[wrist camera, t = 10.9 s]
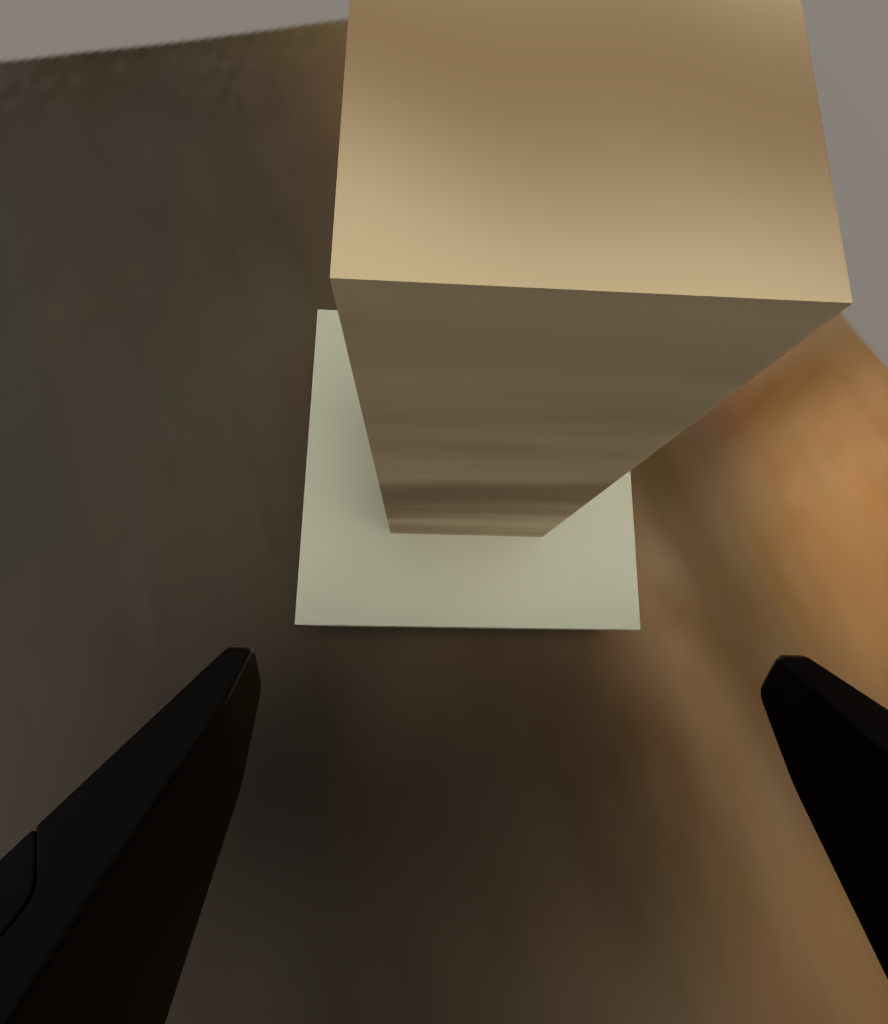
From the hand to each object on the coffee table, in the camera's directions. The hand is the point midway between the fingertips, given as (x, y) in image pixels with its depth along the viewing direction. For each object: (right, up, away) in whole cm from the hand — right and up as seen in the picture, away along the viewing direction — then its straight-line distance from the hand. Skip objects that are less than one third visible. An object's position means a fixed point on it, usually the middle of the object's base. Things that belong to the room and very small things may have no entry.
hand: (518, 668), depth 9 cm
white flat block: (-1, +4, +13) cm, 13 cm away
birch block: (-1, +4, +9) cm, 10 cm away
